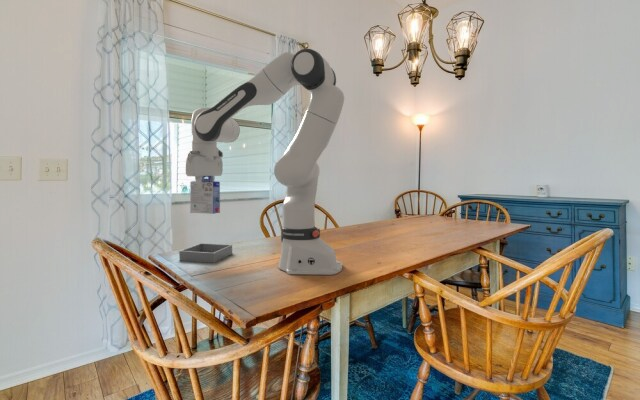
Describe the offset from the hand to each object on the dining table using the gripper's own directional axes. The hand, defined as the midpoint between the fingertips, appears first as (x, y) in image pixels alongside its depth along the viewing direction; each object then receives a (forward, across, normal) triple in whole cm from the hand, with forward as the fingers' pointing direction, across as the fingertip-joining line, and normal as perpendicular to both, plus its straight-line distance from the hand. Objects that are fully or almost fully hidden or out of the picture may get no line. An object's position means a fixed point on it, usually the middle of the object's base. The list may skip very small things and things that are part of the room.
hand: (205, 188), depth 128 cm
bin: (+27, 0, 0) cm, 27 cm away
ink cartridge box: (+10, 0, 0) cm, 10 cm away
